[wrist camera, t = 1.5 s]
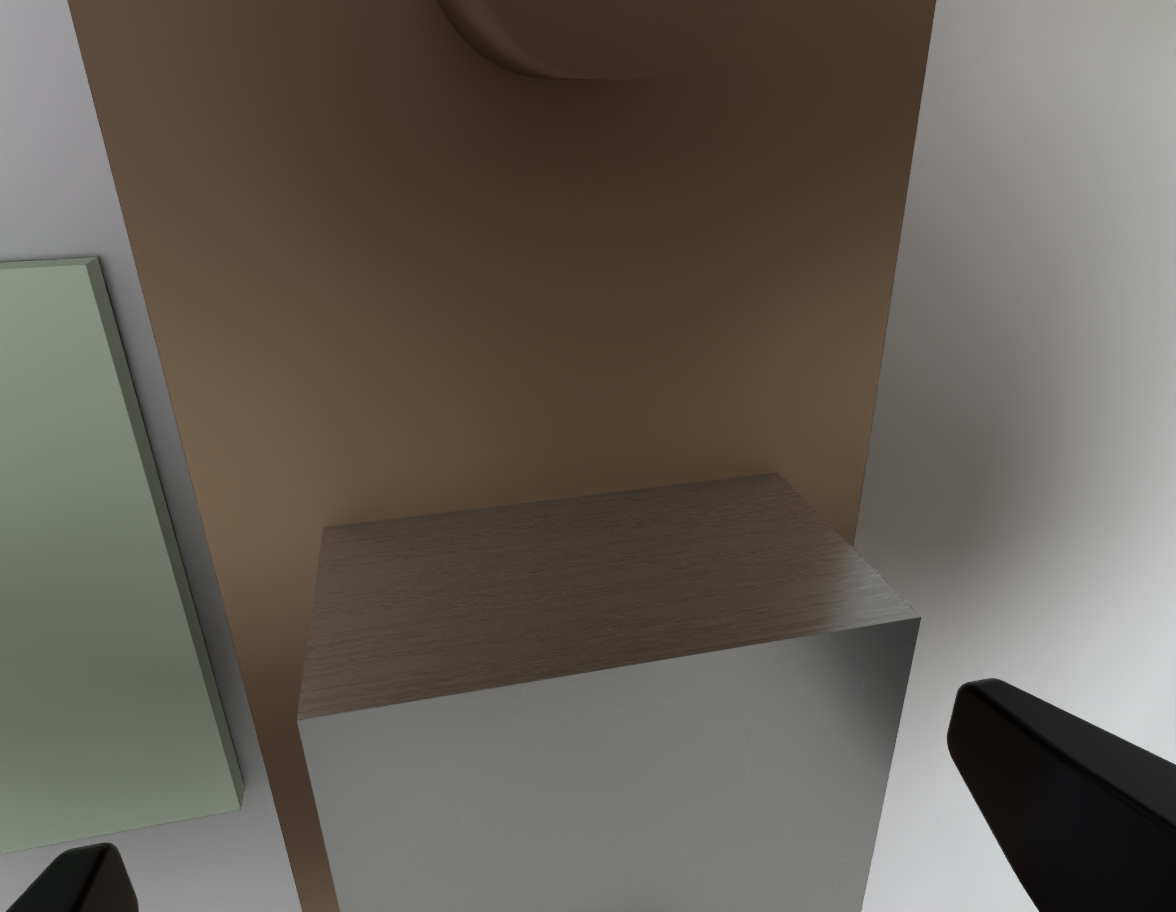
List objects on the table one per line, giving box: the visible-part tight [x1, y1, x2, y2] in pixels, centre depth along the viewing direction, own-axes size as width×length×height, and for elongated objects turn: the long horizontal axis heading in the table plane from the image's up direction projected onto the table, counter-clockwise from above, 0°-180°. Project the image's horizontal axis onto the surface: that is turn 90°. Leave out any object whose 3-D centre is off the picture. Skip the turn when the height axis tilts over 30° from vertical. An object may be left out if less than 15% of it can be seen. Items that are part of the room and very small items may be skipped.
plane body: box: [67, 0, 936, 912], centre depth 9 cm, size 18×7×6 cm, turn 1°
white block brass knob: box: [297, 472, 921, 912], centre depth 8 cm, size 6×4×3 cm
